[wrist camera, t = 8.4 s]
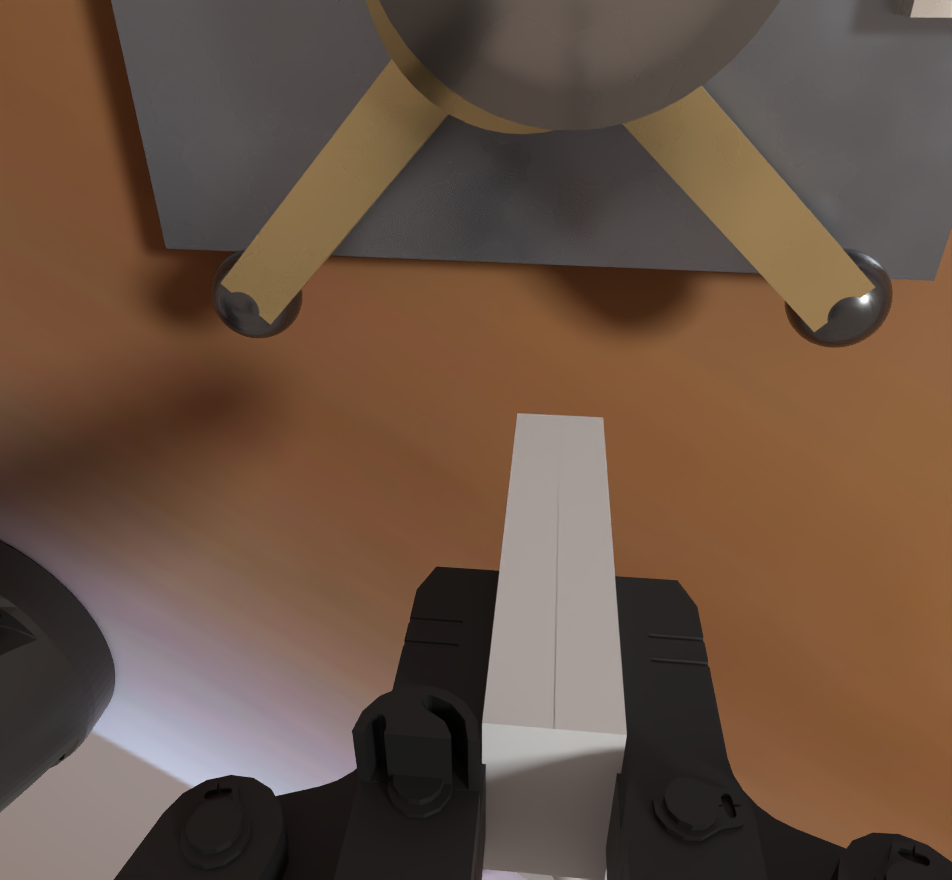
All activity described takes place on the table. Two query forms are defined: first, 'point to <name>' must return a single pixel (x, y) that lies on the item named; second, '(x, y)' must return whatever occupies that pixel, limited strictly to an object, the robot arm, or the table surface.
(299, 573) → the table surface
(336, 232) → the capstan
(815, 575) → the table surface
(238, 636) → the table surface
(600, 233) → the stand
